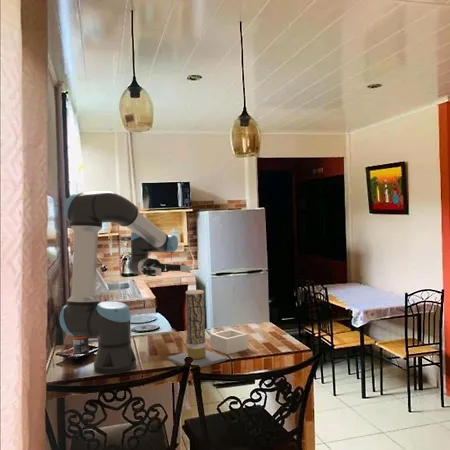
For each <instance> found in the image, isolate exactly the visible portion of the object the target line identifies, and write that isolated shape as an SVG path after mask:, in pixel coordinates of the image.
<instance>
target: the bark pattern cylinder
mask: <svg viewBox="0 0 450 450" xmlns="http://www.w3.org/2000/svg"><path fill="white" fill-rule="evenodd" d="M185 307H186V308H185V310H186V313H185V314H186V339H187V340H186V343H187V352H188V357H192V358H193V359H202V358H204V357H205V356H206V351H205V350H206V323H205V321H206V320H205V318H206V317H205V316H206V315H205V291H204V290H203V289H189V290H186V291H185Z"/></svg>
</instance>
